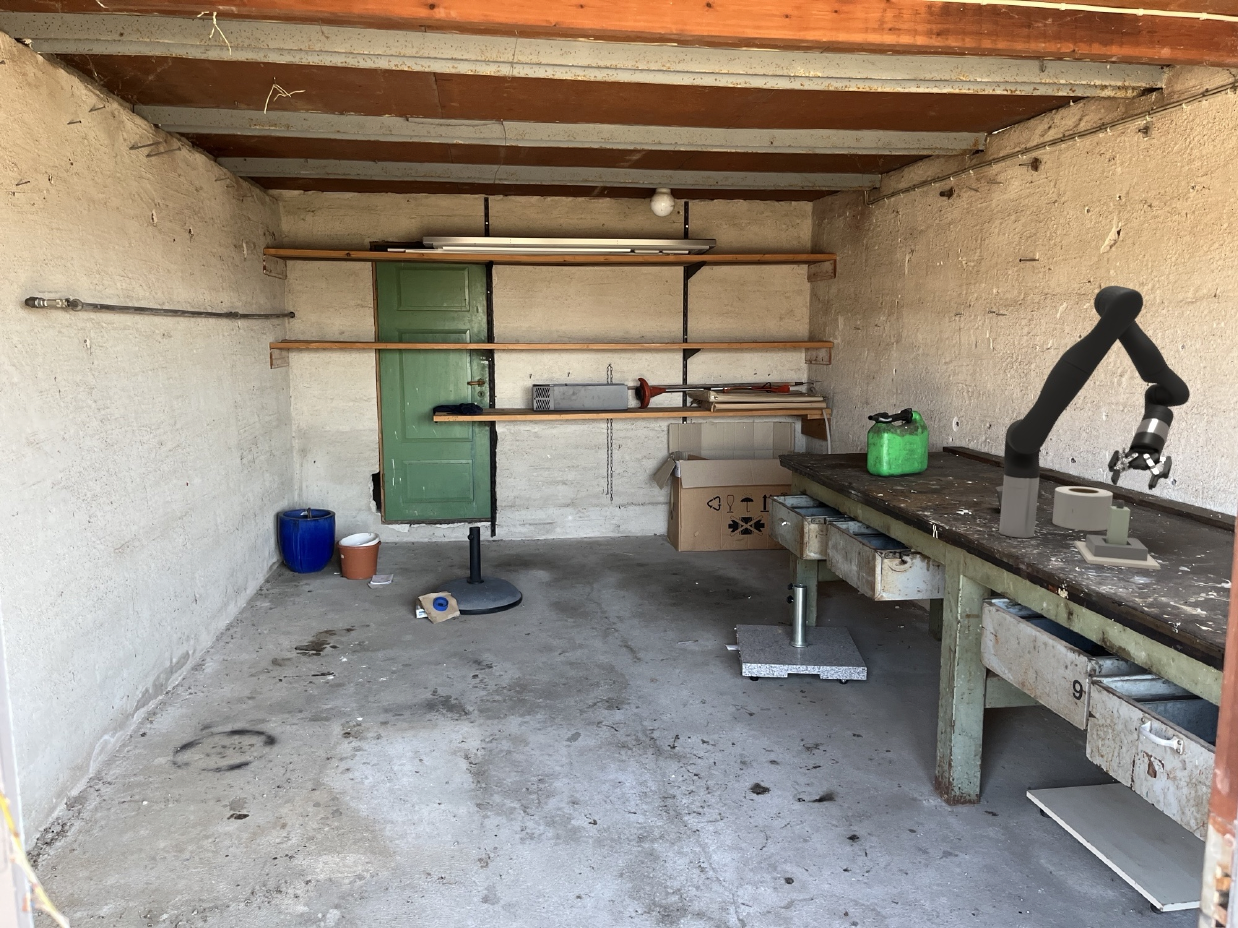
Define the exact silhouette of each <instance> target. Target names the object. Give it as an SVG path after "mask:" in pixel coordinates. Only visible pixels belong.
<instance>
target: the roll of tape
mask: <svg viewBox="0 0 1238 928" xmlns="http://www.w3.org/2000/svg"><path fill="white" fill-rule="evenodd" d="M1113 495H1114V493H1113V492H1111V491H1109V490H1106V489H1101V488H1096V487H1090V486H1074V485H1073V486H1071V485H1070V486H1069V485H1068V486H1059V487H1056V488H1054V496H1053V497H1054V498H1053V499H1054V500H1053V510H1052V513H1053V514H1052V524H1054V525H1056V526H1058V527H1062V528H1064V529H1069V530H1070V529H1071V530H1077V531H1089V532H1091V531H1092V532H1095V531H1096V532H1102V531H1107V528H1108V519H1109V509H1110V506H1113V505H1112V504H1113Z"/></svg>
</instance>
